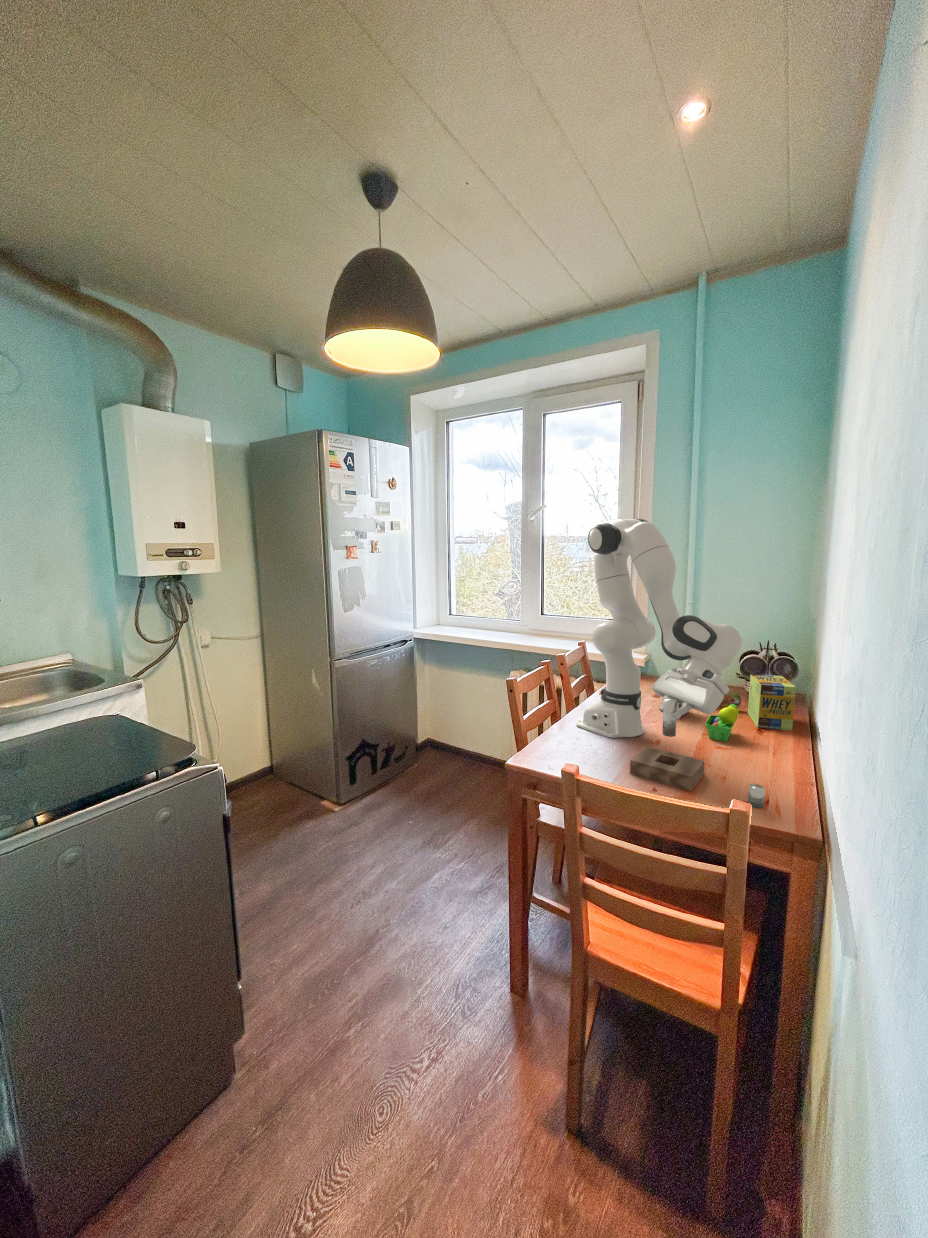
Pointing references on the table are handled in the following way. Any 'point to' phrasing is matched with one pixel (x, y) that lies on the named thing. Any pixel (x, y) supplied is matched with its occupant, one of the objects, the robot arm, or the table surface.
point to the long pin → (669, 717)
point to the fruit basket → (722, 723)
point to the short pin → (756, 796)
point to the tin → (730, 699)
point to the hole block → (667, 768)
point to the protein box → (771, 702)
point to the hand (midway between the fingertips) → (668, 714)
